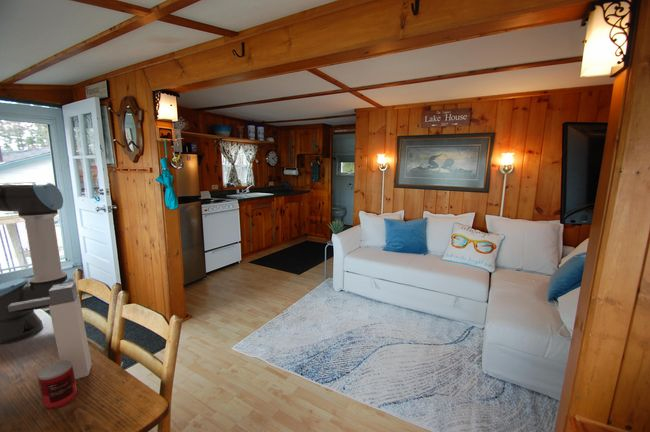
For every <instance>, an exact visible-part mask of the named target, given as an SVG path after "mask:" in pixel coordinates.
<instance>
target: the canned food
mask: <svg viewBox="0 0 650 432" xmlns="http://www.w3.org/2000/svg"><path fill="white" fill-rule="evenodd" d="M37 382H38V385H39V390H40V394H41V399H42V403H43V406H44V407H45V409H49V410H51V409H54V410H55V409H58V408H61V407H63V406H65V405H67V404H68V403H70V402H71V401H73V400H74V399H75V397H76V396H77V393H78V389H77V383H76V379H75V377H74V372H73V367H72V363H71V361H68V360H63V361H60V360H59V361H54V362H52V363H50V364H48V365H46V366H44V367H43V368H41V369H40V370H39V372H37Z"/></svg>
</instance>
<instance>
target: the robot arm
mask: <svg viewBox="0 0 650 432" xmlns="http://www.w3.org/2000/svg"><path fill="white" fill-rule="evenodd" d="M63 206H64V197H63V194H62V192H61V190H60V189H59V188H58V187H57V186H56V185H55V184H54V183H51V182H39V181H36V182H34V181H33V182H32V181H31V182H3V183H2V182H0V212H17V214H18V217H19V218H21V219H23V220H24V223H25V228H26V235H27V242H28V247H29V255H30V259H31V266H32V272H33V276H32V277H31V278H30V279H29V280H27V278H17V279H12V280H9V281H5V282H3V283H0V345H6V344H7V345H8V344H12V343H15V342H19V341H22V340H25V339H28V338H30V337H32V336H34V335H36V334H37V333H38V332H40V331H41V330H42V329H43V328H44V323H43V321H42V320H41V319H40V316H38V315H37V314H36V313H35V311H36V310H43V309H49V306H50V304H48V305H43V306H38V307H32V308H27V309H22V310H17V311H11V312H9V310H8V306H9V305H10V304H11V303H16V302H22V301H27V300H33V299H38V298H44V297H50V296H49V290H50V289H51V287H52V286H53V285H57V284H63V283H69V282H75V283H76V281H75V280H74V279H73V278H70V277H68V273H66V272H64V271H63V270H62V265H61V259H60V258H61V257H60V251H59V244H58V237H57V232H56V225H55V217H56V216H57V215H58V214H59V212H58V211H59V210H61V209H62V208H63Z"/></svg>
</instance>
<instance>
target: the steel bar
mask: <svg viewBox="0 0 650 432" xmlns="http://www.w3.org/2000/svg"><path fill="white" fill-rule="evenodd" d="M78 294H79V293H78V290H77V283H76V281H75V282H69V283H63V284H57V285H53V286H52V287H51V289H50V290H49V296H50V297H44V298H38V299H33V300H27V301H22V302H16V303H11V304H10V305H9V306H8V310H9V312H11V311H17V310H22V309H27V308H32V307H38V306H43V305H48V304H51V306H52V305H57V304H62V303H67V302H73V301H75V299H76V297H77V296H78Z"/></svg>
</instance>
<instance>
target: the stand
mask: <svg viewBox="0 0 650 432" xmlns="http://www.w3.org/2000/svg"><path fill="white" fill-rule="evenodd" d="M48 309H49V313H50V317H51V324H52V329H53V333H54V339H55V343H56V348H57V353H58V357H59V358H58V359H59V361H63V360H68V361H71V363H72V367H73V372H74V377H75V380H78V379H80V378H84V377H88V376H89V375H90V372H91V369H92V366H93V364H92V359H91V353H90V347H89V343H88V336H87V333H86V332H87V331H86V326H85V325H86V324H85V319H84V316H83V315H84V314H83V309H82V305H81V299H80V295H79V293H78V296H77V297H76V299H75V301H73V302H67V303H62V304H57V305H52V306H51V304H50V306H49V308H48Z"/></svg>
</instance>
